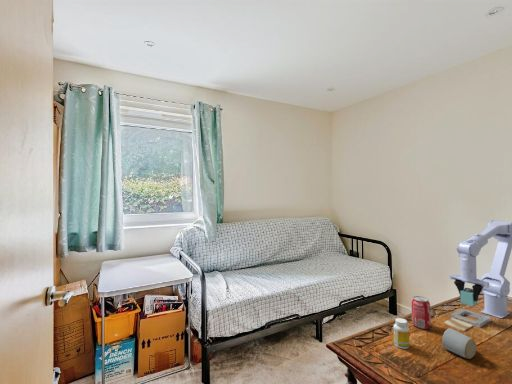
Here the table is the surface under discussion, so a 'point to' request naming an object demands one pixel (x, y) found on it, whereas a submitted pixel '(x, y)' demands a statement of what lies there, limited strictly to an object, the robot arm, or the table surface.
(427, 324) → the soda can
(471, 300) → the teal cube with dome
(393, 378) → the table surface
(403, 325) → the supplement bottle
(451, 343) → the grey cylinder
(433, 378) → the table surface
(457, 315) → the block
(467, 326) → the cork coaster
